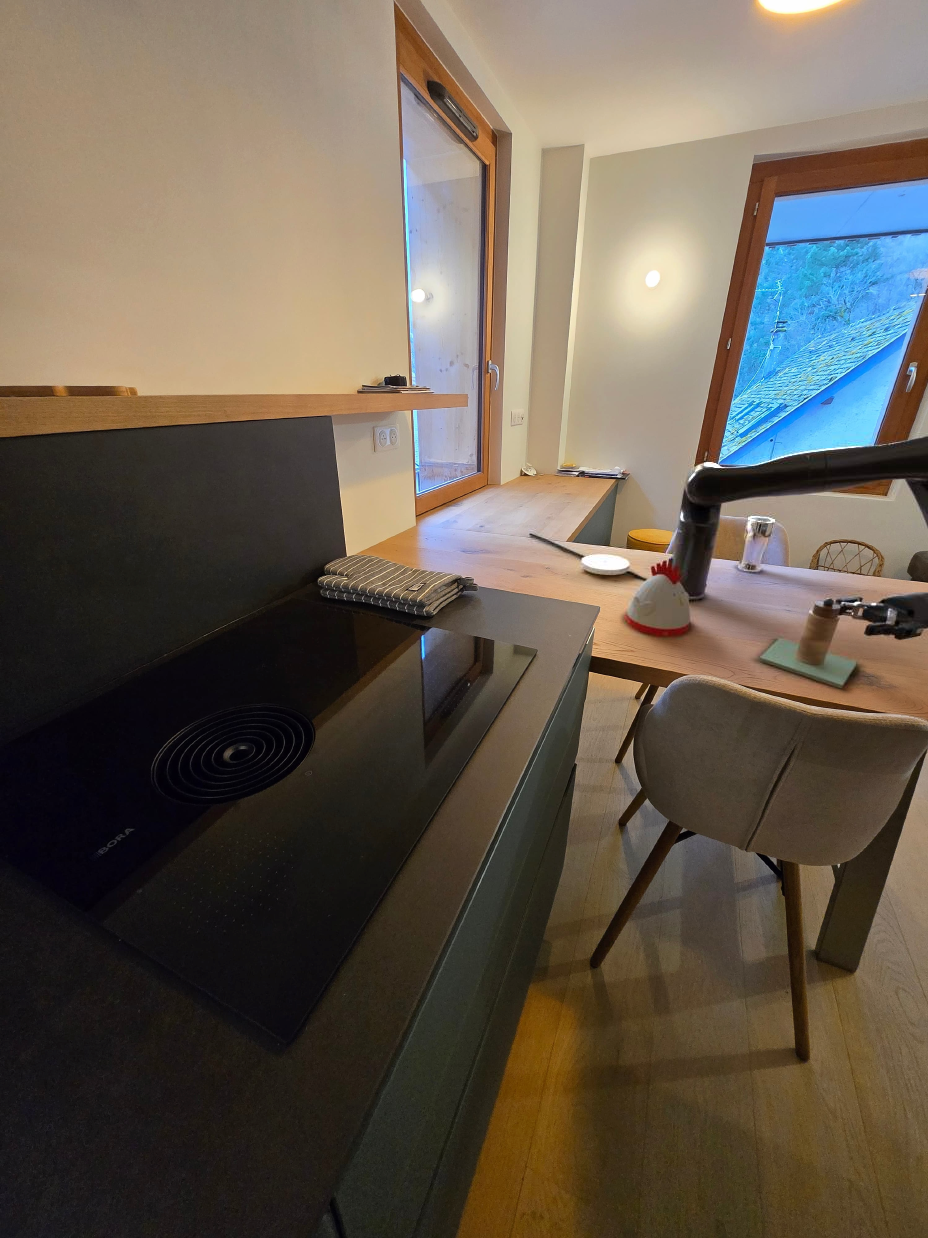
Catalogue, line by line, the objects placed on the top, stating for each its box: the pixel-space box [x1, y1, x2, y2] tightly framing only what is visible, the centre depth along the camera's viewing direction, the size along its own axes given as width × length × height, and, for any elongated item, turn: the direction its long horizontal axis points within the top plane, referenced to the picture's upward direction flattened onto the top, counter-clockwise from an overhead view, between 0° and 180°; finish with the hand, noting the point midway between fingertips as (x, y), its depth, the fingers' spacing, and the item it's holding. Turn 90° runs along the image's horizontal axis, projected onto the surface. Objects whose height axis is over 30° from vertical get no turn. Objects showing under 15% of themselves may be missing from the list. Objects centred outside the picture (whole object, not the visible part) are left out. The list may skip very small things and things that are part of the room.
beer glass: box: [737, 516, 776, 573], centre depth 144 cm, size 7×7×15 cm
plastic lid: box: [580, 553, 631, 576], centre depth 147 cm, size 14×14×2 cm
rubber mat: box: [759, 637, 858, 689], centre depth 98 cm, size 14×12×1 cm
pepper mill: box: [795, 597, 841, 666], centre depth 95 cm, size 5×5×13 cm
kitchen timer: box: [625, 559, 691, 637], centre depth 113 cm, size 14×14×15 cm
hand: (846, 620), depth 96 cm, fingers open, 8 cm apart
